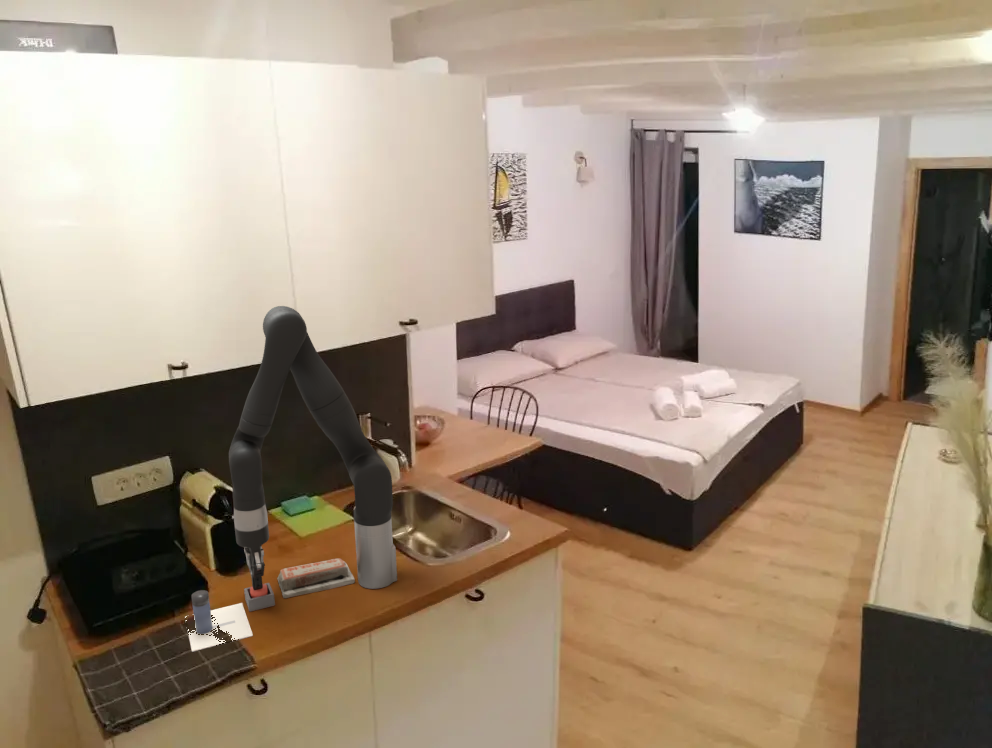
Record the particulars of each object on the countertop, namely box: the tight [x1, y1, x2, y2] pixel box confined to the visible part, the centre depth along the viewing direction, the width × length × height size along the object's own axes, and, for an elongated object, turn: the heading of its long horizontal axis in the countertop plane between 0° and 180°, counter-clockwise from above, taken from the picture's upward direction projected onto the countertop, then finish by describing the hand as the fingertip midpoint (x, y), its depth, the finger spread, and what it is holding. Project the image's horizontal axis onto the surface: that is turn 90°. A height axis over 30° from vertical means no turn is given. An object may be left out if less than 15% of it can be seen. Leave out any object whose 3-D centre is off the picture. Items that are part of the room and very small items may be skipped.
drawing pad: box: [184, 602, 254, 653], centre depth 181 cm, size 13×15×1 cm
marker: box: [191, 589, 213, 634], centre depth 179 cm, size 4×4×9 cm
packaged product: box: [276, 558, 356, 599], centre depth 199 cm, size 18×5×10 cm
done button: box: [250, 583, 268, 598], centre depth 190 cm, size 4×4×3 cm
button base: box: [243, 582, 276, 613], centre depth 190 cm, size 6×6×3 cm
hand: (257, 588), depth 190 cm, fingers closed
